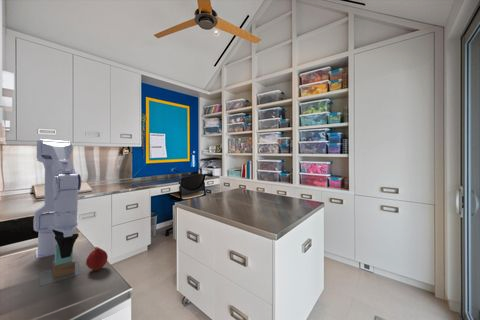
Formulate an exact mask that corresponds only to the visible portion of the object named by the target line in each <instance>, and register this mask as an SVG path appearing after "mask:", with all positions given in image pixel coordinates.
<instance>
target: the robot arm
mask: <svg viewBox="0 0 480 320" xmlns="http://www.w3.org/2000/svg"><path fill="white" fill-rule="evenodd" d="M72 152H73V143H72V142H71V141H70V140H67V141H66V140H58V139H57V140H55V139H43V138H39V139H37V140H36V159H37V160H36V161H37V162H40V163H42V164H43V167H44V200H43V201H44V204H43V205H42V206H41V207H39V208H38V209H36V210H35V211H34V217H33V231H35V232H38V237H37V240H38V241H37V249H35V258H36V259H40V258H45V257H49V256H53V255H54V256H55V246H56V245H59V250H60V255H61V258H67V257H70V256H71V253H72V249H73V248H74V246H75V243H76V241H77V239H78V238H79V235H80V234H79V233H73V231H74V230H75V229H76V228H77V226H78V205H79V203H78V201H79V191H80V190H81V187H82V176H81V174H80V172H79V173H78V172H77V171H76V170H75V168H74V164H73V163H72V161H70V160H69V159H70V156H71V155H72Z"/></svg>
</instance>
